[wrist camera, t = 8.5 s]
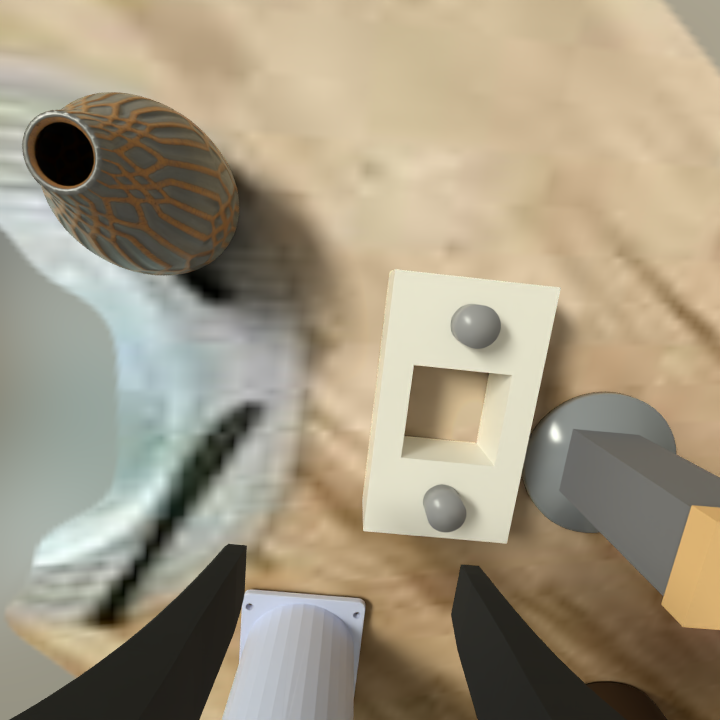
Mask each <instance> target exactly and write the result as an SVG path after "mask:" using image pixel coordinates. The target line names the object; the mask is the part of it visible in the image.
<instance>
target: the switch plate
mask: <svg viewBox="0 0 720 720" xmlns="http://www.w3.org/2000/svg"><path fill="white" fill-rule="evenodd" d="M560 289H561V288H560V287H551V286H542V285H533V284H524V283H515V282H506V281H497V280H488V279H479V278H470V277H461V276H452V275H443V274H433V273H424V272H415V271H406V270H397V269H395V270H392V271H390V273H389V281H388V289H387V298H386V306H385V314H384V323H383V331H382V340H381V348H380V356H379V365H378V373H377V381H376V390H375V398H374V407H373V415H372V423H371V432H370V440H369V448H368V457H367V465H366V474H365V482H364V490H363V499H362V504H363V531H370V532H381V533H393V534H404V535H415V536H427V537H438V538H449V539H461V540H472V541H484V542H495V543H506V544H507V540H508V535H509V531H510V526H511V521H512V516H513V512H514V507H515V502H516V497H517V493H518V488H519V483H520V479H521V474H522V469H523V464H524V460H525V455H526V450H527V445H528V441H529V436H530V431H531V426H532V422H533V417H534V412H535V407H536V403H537V398H538V393H539V388H540V384H541V379H542V374H543V369H544V365H545V360H546V355H547V350H548V346H549V341H550V336H551V331H552V327H553V322H554V317H555V313H556V308H557V303H558V298H559V294H560ZM414 365H418V366H428V367H438V368H447V369H457V370H467V371H477V372H486V373H489V377H488V382H487V388H486V393H485V399H484V404H483V410H482V415H481V421H480V426H479V432H478V437H477V443H474V442H464V441H453V440H443V439H433V438H422V437H412V436H404V432H405V425H406V418H407V411H408V404H409V396H410V389H411V382H412V375H413V368H414Z"/></svg>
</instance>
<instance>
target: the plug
mask: <svg viewBox="0 0 720 720" xmlns="http://www.w3.org/2000/svg"><path fill="white" fill-rule="evenodd" d="M559 491H560V492H561V493H562V494H563V495H564V496H565V497H566V498H567V499H568V500H569V501H570V502H571V503H572V504H573V505H574V506H575V507H576V508H577V509H578V510H579V511H580V512H581V513H582V514H583V515H584V516H585V517H586V518H587V519H588V520H589V521H590V522H591V523H592V524H593V525H594V526H595V528H596V529H597V530H598V531H599V532H600V533H601V534H602V535H603V536H604V537H605V538H606V539H607V540H608V541H609V542H610V543H611V544H612V545H613V546H614V547H615V548H616V549H617V550H618V551H619V552H620V553H621V554H622V555H623V556H624V557H625V558H626V559H627V560H628V561H629V562H630V563H631V564H632V565H633V566H634V567H635V568H636V569H637V570H638V571H639V572H640V573H641V574H642V575H643V576H644V577H645V578H646V579H647V580H648V581H649V582H650V583H651V584H652V585H653V586H654V587H655V588H656V589H657V590H658V591H659V592H660V593H661V594H662V595H663V596H664V597H663V600H662V603H661V605H662V606H663V607H664V608H665V609H666V610H667V611H668V612H669V613H670V614H671V615H672V616H673V617H674V618H675V619H676V620H677V621H678V622H679V623H680V625H681V626H682V627H688V628H701V629H714V630H720V478H719V477H717V476H716V475H714V474H712V473H710V472H708V471H706V470H704V469H702V468H700V467H699V466H697V465H695V464H693V463H691V462H689V461H687V460H685V459H684V458H682V457H680V456H678V455H676V454H674V453H672V452H670V451H668V450H667V449H665V448H663V447H661V446H659V445H657V444H655V443H653V442H652V441H650V440H648V439H646V438H644V437H642V436H640V435H635V434H624V433H613V432H602V431H590V430H579V429H573V431H572V435H571V440H570V444H569V449H568V453H567V457H566V462H565V466H564V471H563V475H562V480H561V484H560V488H559Z"/></svg>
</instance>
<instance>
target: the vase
mask: <svg viewBox="0 0 720 720" xmlns="http://www.w3.org/2000/svg"><path fill="white" fill-rule="evenodd" d="M22 149H23V156H24V160H25V163H26V165H27V168H28V170H29V171H30V173H31V174H32V176H33V177H34V179H35V180H36V181H37V182H38V183H39V184H40V185H41V186H42V189H43V192H44V195H45V197H46V199H47V202H48V204H49V206H50V208H51V209H52V211H53V213H54V214H55V216H56V217H57V219H58V220H59V222H60V223H61V224H62V225H63V227H64V228H65V229H66V230H67V231H68V232H69V233H70V234H71V235H72V236H73V237H74V238H75V239H76V240H77V241H78V242H79V243H81V244H82V245H83V246H84V247H86V248H87V249H89V250H90V251H91V252H93V253H94V254H96V255H98V256H99V257H101V258H103V259H105V260H106V261H108V262H110V263H113V264H115V265H117V266H119V267H122V268H125V269H128V270H131V271H134V272H138V273H143V274H150V275H177V274H184V273H189V272H192V271H195V270H197V269H200V268H202V267H204V266H206V265H207V264H209V263H211V262H212V261H214V260H215V259H216V258H217V257H218V256H219V255H220V254H221V253H222V252H223V251H224V250H225V249H226V247H227V246H228V245H229V243H230V241H231V240H232V238H233V235H234V233H235V230H236V227H237V223H238V217H239V197H238V191H237V187H236V183H235V180H234V177H233V174H232V172H231V169H230V167H229V165H228V163H227V162H226V160H225V158H224V157H223V155H222V154H221V152H220V151H219V150H218V148H217V147H216V146H215V144H214V143H213V142H212V141H211V140H210V139H209V137H208V136H207V135H206V134H205V133H204V132H203V131H202V130H201V129H200V128H199V127H197V126H196V125H195V124H194V123H193V122H192V121H190V120H189V119H188V118H186V117H185V116H183V115H182V114H180V113H179V112H177V111H175V110H173V109H172V108H170V107H168V106H166V105H163V104H161V103H159V102H156V101H154V100H151V99H148V98H144V97H141V96H137V95H132V94H127V93H115V92H107V93H97V94H92V95H88V96H85V97H82V98H79V99H77V100H75V101H73V102H71V103H70V104H68V105H67V106H65V107H64V108H62V109H61V110H51V111H47V112H44V113H41V114H40V115H38V116H36V117H35V118H34V119H33V120H32V121H31V122H30V123H29V125H28V126H27V128H26V130H25V133H24V137H23V143H22Z"/></svg>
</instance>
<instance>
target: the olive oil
mask: <svg viewBox="0 0 720 720" xmlns="http://www.w3.org/2000/svg"><path fill="white" fill-rule="evenodd" d="M587 686H588V687H589V688H590V689H591V690H593V691H594V692H595V693H596V694H597V695H598V696H599V697H600V698H602V699H603V700H604V701H605V702H606V703H607V704H609V705H610V706H611V707H612V708H613V709H614V710H616V711H617V712H618V713H619V714H620V715H621V716H623V717H624V718H625V719H626V720H667V719H666V717H665V716H664V715H663V713H662V712H661V711H660V709H659V708H658V707H657V706H656V704H655V703H654V702H653V701H652V700H651V699H650V698H649V697H648V696H647V695H646V694H644V693H643V692H641V691H639V690H638V689H635V688H633V687H630V686H627V685H624V684H620V683H612V682H600V683H592V684H587Z"/></svg>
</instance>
